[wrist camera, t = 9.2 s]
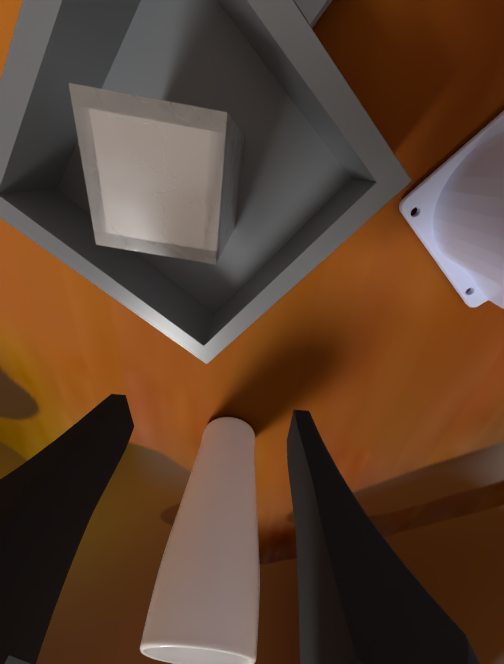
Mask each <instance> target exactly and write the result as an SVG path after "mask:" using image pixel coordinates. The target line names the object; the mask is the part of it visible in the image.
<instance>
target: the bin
mask: <svg viewBox="0 0 504 664" xmlns="http://www.w3.org/2000/svg"><path fill="white" fill-rule="evenodd" d="M69 83H73V84H78V85H84V86H89V87H94V88H100V89H105V90H110V91H116V92H121V93H126V94H132V95H137V96H142V97H148V98H153V99H159V100H164V101H169V102H175V103H180V104H185V105H191V106H196V107H201V108H207V109H212V110H217V111H223V112H227V113H228V114H229V115H230V117H231V118H232V119H233V121H234V122H235V123H236V125H237V126H238V128H239V129H240V130H241V132H242V133H243V134H244V136H245V140H244V149H243V159H242V168H241V177H240V186H239V195H238V204H237V213H236V223H235V229H234V231H233V233H232V235H231V237H230V239H229V240H228V242H227V244H226V246H225V248H224V250H223V252H222V253H221V255H220V257H219V259H218V261H217V263H216V264H210V263H204V262H198V261H192V260H186V259H180V258H174V257H168V256H162V255H156V254H150V253H143V252H137V251H131V250H125V249H119V248H113V247H107V246H101V245H96V242H95V236H94V230H93V224H92V218H91V212H90V206H89V201H88V195H87V189H86V183H85V177H84V171H83V165H82V159H81V153H80V148H79V142H78V136H77V130H76V124H75V118H74V112H73V106H72V101H71V95H70V89H69ZM410 182H411V179H410V178H409V176H408V175H407V173H406V172H405V170H404V169H403V167H402V165H401V164H400V162H399V161H398V159H397V158H396V156H395V155H394V153H393V152H392V150H391V149H390V147H389V146H388V144H387V143H386V141H385V140H384V138H383V137H382V135H381V134H380V132H379V130H378V129H377V127H376V126H375V124H374V123H373V121H372V120H371V118H370V117H369V115H368V114H367V112H366V111H365V109H364V108H363V106H362V105H361V103H360V102H359V100H358V99H357V97H356V96H355V94H354V92H353V91H352V89H351V88H350V86H349V85H348V83H347V82H346V80H345V79H344V77H343V76H342V74H341V73H340V71H339V70H338V68H337V67H336V65H335V64H334V62H333V61H332V59H331V57H330V56H329V54H328V53H327V51H326V50H325V48H324V47H323V45H322V44H321V42H320V41H319V39H318V38H317V36H316V35H315V33H314V32H313V30H312V29H311V27H310V26H309V24H308V23H307V21H306V19H305V18H304V16H303V15H302V13H301V12H300V10H299V9H298V7H297V6H296V4H295V3H294V1H293V0H23V2H22V5H21V9H20V12H19V16H18V20H17V23H16V27H15V30H14V34H13V38H12V41H11V45H10V48H9V52H8V56H7V59H6V63H5V66H4V70H3V74H2V77H1V81H0V218H1V219H3V220H4V221H6V222H7V223H8V224H10V225H11V226H13V227H14V228H16V229H17V230H18V231H20V232H21V233H23V234H24V235H25V236H27V237H28V238H30V239H31V240H32V241H34V242H35V243H37V244H38V245H39V246H41V247H42V248H44V249H45V250H47V251H48V252H49V253H51V254H52V255H54V256H55V257H56V258H58V259H59V260H61V261H62V262H63V263H65V264H66V265H68V266H69V267H71V268H72V269H73V270H75V271H76V272H78V273H79V274H80V275H82V276H83V277H85V278H86V279H87V280H89V281H90V282H92V283H93V284H94V285H96V286H97V287H99V288H100V289H102V290H103V291H104V292H106V293H107V294H109V295H110V296H111V297H113V298H114V299H116V300H117V301H118V302H120V303H121V304H123V305H124V306H126V307H127V308H128V309H130V310H131V311H133V312H134V313H135V314H137V315H138V316H140V317H141V318H142V319H144V320H145V321H147V322H148V323H150V324H151V325H152V326H154V327H155V328H157V329H158V330H159V331H161V332H162V333H164V334H165V335H166V336H168V337H169V338H171V339H172V340H173V341H175V342H176V343H178V344H179V345H181V346H182V347H183V348H185V349H186V350H188V351H189V352H190V353H192V354H193V355H195V356H196V357H197V358H199V359H200V360H202V361H203V362H205V363H206V364H207V363H208V362H209V361H211V360H212V359H213V358H214V357H215V356H216V355H217V354H218V353H220V352H221V351H222V350H223V349H224V348H225V347H226V346H227V345H229V344H230V343H231V342H232V341H233V340H234V339H235V338H236V337H238V336H239V335H240V334H241V333H242V332H243V331H244V330H245V329H246V328H248V327H249V326H250V325H251V324H252V323H253V322H254V321H255V320H257V319H258V318H259V317H260V316H261V315H262V314H263V313H264V312H266V311H267V310H268V309H269V308H270V307H271V306H272V305H273V304H275V303H276V302H277V301H278V300H279V299H280V298H281V297H282V296H283V295H285V294H286V293H287V292H288V291H289V290H290V289H291V288H292V287H294V286H295V285H296V284H297V283H298V282H299V281H300V280H301V279H303V278H304V277H305V276H306V275H307V274H308V273H309V272H310V271H312V270H313V269H314V268H315V267H316V266H317V265H318V264H319V263H320V262H322V261H323V260H324V259H325V258H326V257H327V256H328V255H329V254H331V253H332V252H333V251H334V250H335V249H336V248H337V247H338V246H340V245H341V244H342V243H343V242H344V241H345V240H346V239H347V238H349V237H350V236H351V235H352V234H353V233H354V232H355V231H356V230H357V229H359V228H360V227H361V226H362V225H363V224H364V223H365V222H366V221H368V220H369V219H370V218H371V217H372V216H373V215H374V214H375V213H377V212H378V211H379V210H380V209H381V208H382V207H383V206H384V205H386V204H387V203H388V202H389V201H390V200H391V199H392V198H393V197H394V196H396V195H397V194H398V193H399V192H400V191H401V190H402V189H403V188H405V187H406V186H407V185H408V184H409V183H410Z"/></svg>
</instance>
